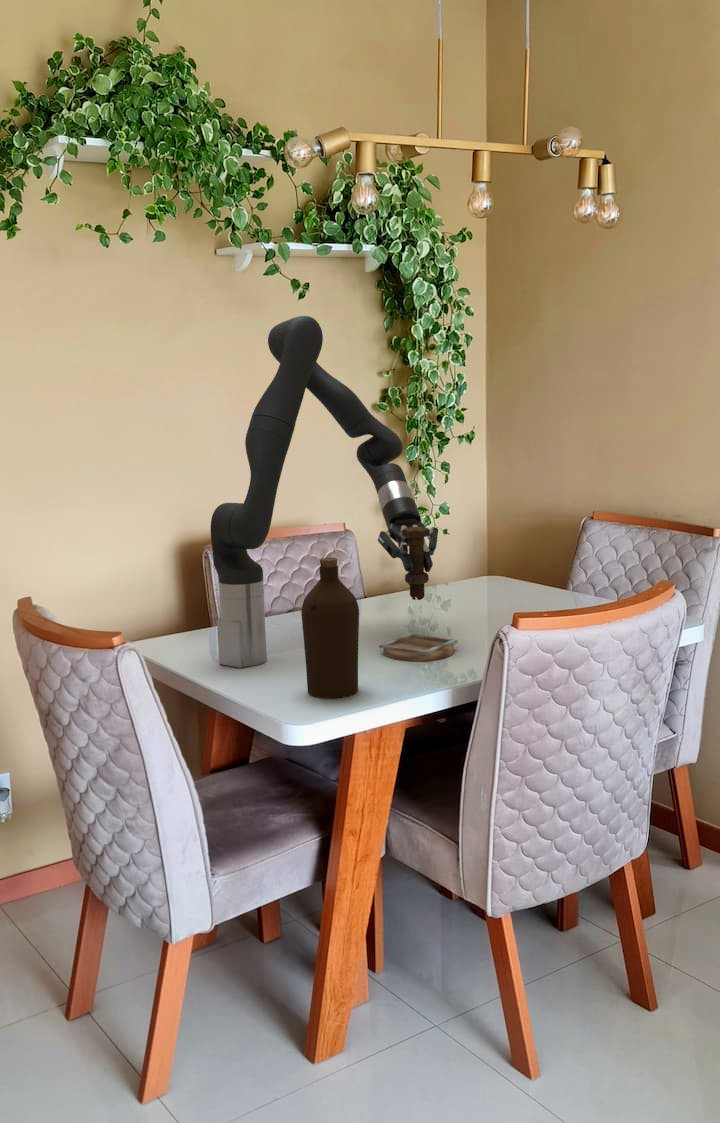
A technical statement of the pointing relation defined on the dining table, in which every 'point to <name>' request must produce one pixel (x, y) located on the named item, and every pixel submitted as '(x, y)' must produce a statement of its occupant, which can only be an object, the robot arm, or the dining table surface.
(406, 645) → the tray
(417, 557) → the bolt
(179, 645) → the dining table surface
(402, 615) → the dining table surface
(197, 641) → the dining table surface
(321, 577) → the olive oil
